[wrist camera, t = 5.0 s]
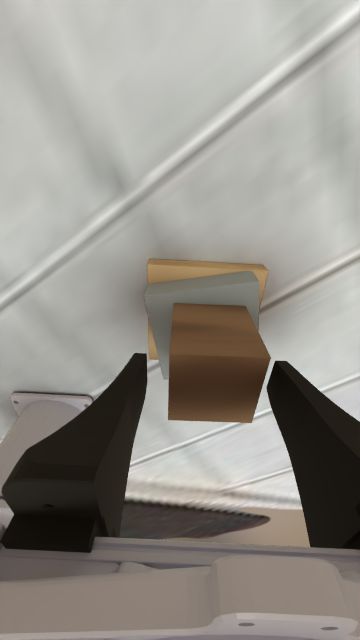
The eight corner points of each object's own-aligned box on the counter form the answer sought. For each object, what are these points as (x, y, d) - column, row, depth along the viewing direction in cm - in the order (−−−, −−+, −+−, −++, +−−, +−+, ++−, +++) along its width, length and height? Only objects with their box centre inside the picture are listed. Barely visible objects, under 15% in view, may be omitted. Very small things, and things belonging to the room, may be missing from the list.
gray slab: (251, 353, 19) (257, 370, 18) (165, 362, 20) (163, 379, 18) (251, 270, 16) (259, 281, 14) (147, 283, 17) (143, 296, 15)
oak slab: (241, 349, 22) (245, 364, 20) (152, 344, 22) (149, 359, 20) (260, 261, 18) (268, 270, 16) (151, 255, 18) (147, 264, 16)
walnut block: (234, 361, 17) (251, 422, 13) (172, 359, 17) (168, 419, 13) (245, 306, 15) (270, 357, 11) (173, 303, 15) (169, 354, 11)
